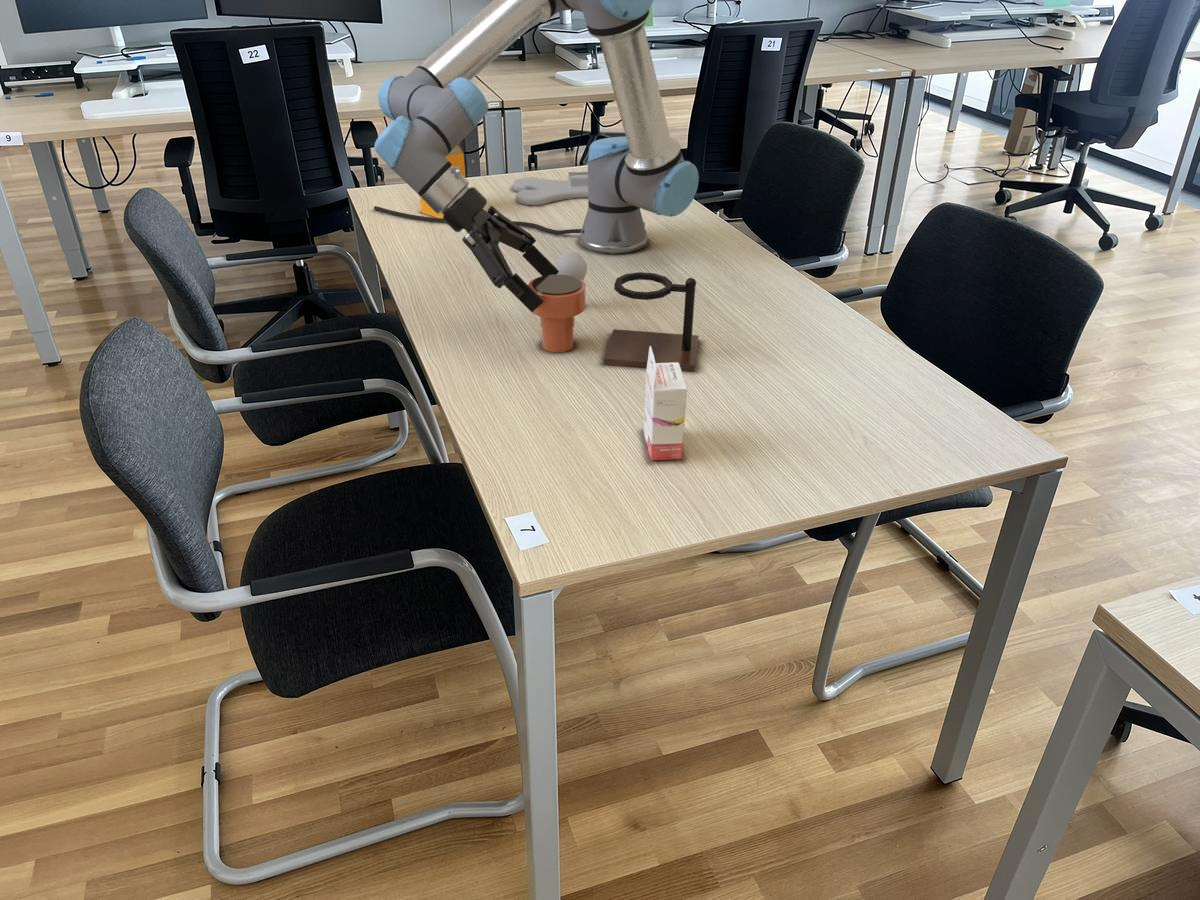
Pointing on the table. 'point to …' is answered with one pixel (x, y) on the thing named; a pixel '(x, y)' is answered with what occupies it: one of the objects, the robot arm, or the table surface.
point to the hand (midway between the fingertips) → (546, 291)
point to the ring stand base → (636, 344)
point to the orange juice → (456, 160)
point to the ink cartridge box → (664, 409)
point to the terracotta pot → (558, 309)
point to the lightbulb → (572, 265)
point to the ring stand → (669, 287)
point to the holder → (551, 189)
